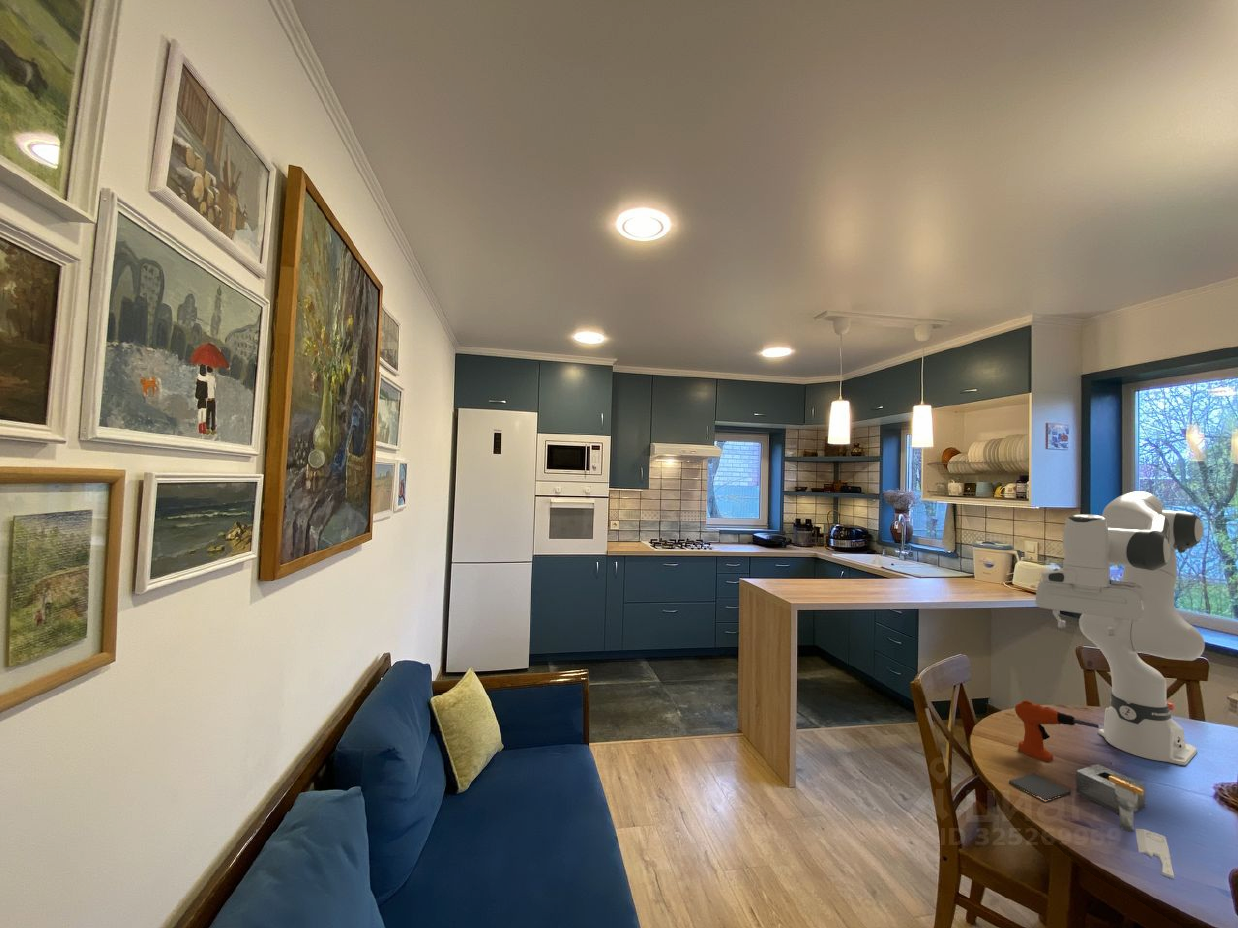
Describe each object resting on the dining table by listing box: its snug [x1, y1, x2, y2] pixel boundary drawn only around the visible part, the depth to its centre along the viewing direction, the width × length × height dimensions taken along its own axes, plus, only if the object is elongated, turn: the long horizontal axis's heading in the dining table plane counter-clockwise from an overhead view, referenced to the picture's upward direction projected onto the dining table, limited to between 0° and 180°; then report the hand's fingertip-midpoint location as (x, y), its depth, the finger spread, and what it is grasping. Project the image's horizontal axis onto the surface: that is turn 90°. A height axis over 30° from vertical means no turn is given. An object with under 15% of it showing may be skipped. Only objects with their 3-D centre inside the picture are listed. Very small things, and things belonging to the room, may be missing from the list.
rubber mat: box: [1008, 772, 1071, 800], centre depth 125 cm, size 10×8×1 cm
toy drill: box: [1014, 699, 1100, 762], centre depth 137 cm, size 5×19×15 cm, turn 34°
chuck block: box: [1075, 763, 1146, 815], centre depth 121 cm, size 9×9×6 cm
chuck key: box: [1109, 776, 1144, 833], centre depth 111 cm, size 4×6×10 cm, turn 21°
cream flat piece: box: [1135, 828, 1175, 880], centre depth 104 cm, size 5×15×1 cm, turn 136°
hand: (1086, 631), depth 127 cm, fingers open, 8 cm apart
